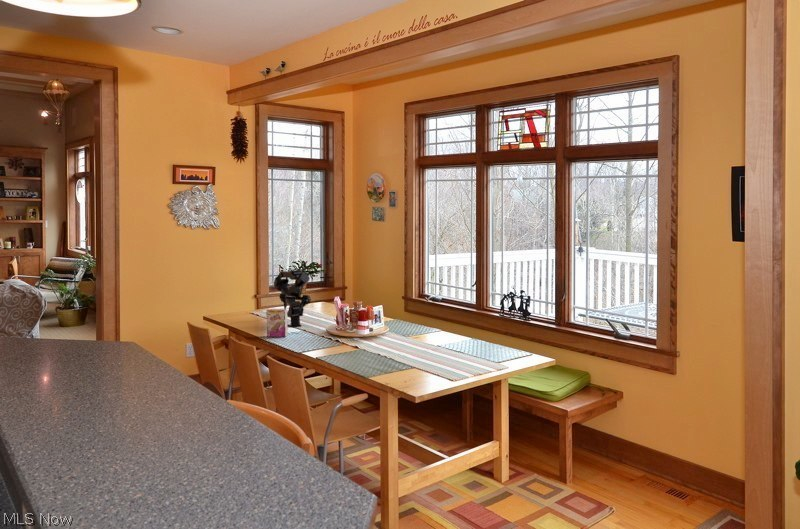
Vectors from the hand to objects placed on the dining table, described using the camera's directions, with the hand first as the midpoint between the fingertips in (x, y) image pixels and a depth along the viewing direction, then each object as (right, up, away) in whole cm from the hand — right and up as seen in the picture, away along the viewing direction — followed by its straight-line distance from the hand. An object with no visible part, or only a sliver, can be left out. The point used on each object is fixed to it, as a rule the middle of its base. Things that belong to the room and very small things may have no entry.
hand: (291, 310), depth 389 cm
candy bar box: (-7, -15, -10) cm, 19 cm away
